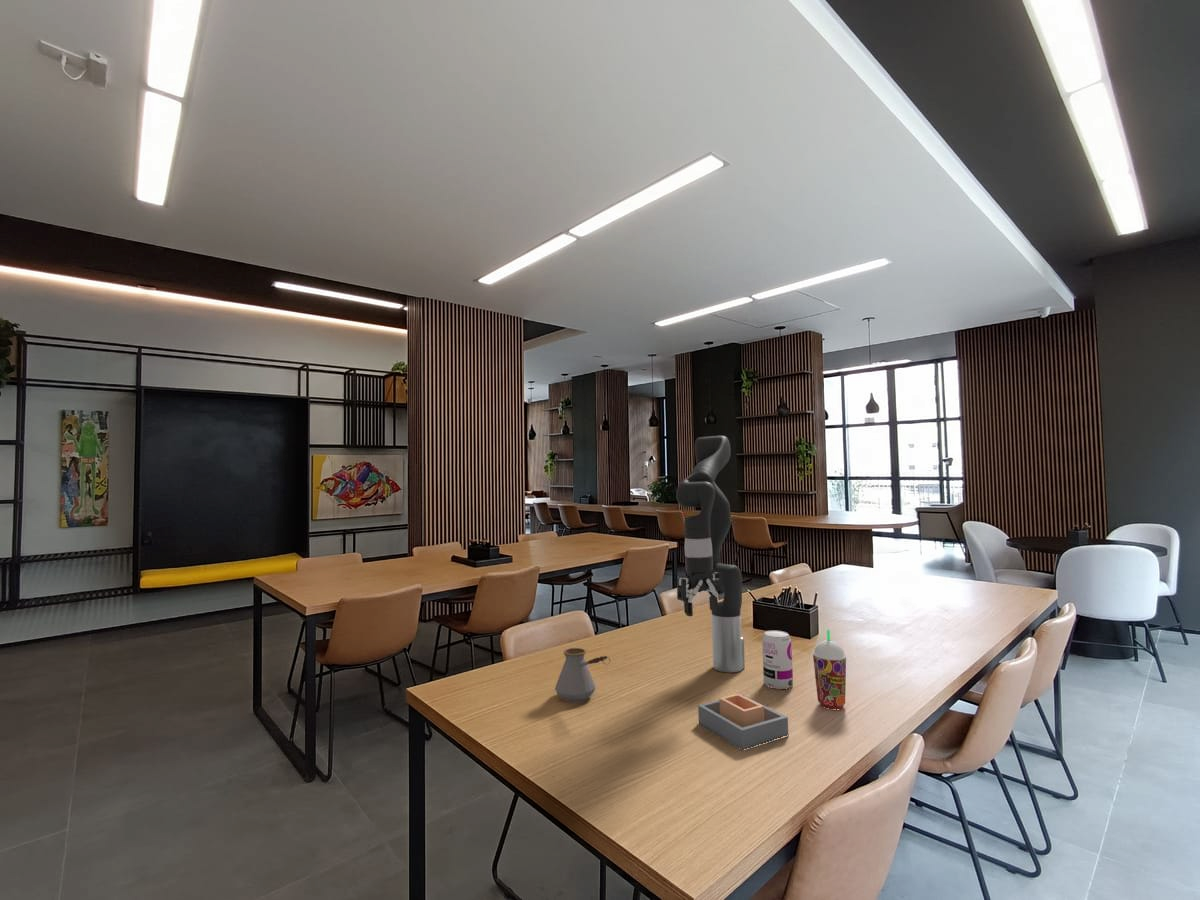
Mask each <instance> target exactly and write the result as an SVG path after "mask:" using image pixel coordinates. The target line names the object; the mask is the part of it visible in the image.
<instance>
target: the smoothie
mask: <svg viewBox="0 0 1200 900" xmlns="http://www.w3.org/2000/svg"><path fill="white" fill-rule="evenodd" d="M826 635H827V637H826V639H825V640H824V639H823V640H821V641H819V642H818V643H817V644H816V646H815V647H814V650H813V651H812V656H813V657H812V658H813V668H814V677H815V685H816V694H817V698H816V699H817V701H818V702H819V705H820V704H821V705H820V707H822V706H823V707H825V708H829V709H836V710H835V711H838V710H837V709H841V710H842V708H843V709H844V705H845V704H846V690H847V689H846V685H847V684H846V682H847V681H846V679H847V674H846V673H847V653H845V651H844V649H843V648H842V646H841V645H840V644H839V643H838V642H836V641H834V640H831V635H830V629H827V630H826ZM823 707H822V708H823ZM825 708H824V709H825Z"/></svg>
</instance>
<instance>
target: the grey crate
mask: <svg viewBox="0 0 1200 900" xmlns="http://www.w3.org/2000/svg"><path fill="white" fill-rule="evenodd" d="M741 695H742V696H744V697H746V698H748V699H750V700H752V701H754V702H756V703H758V704H760V705H762V706H764V722H761V723H757V724H754V725H750V726H747V727H743V728H742V727H740V726H738V725H737V724H735V723H733V722H731V721H730V720H728V719H726V718H724V717H723V716H721V715H720V699H717V700H714V701H710V702H706V703H702V704H698V705H697V707H698V709H697V711H698V712H697V713H698V725H700V726H702V727H703V726H704V727H703V728H704V729H706V728H707V729H706V730H708V729H709V730H708V731H710V732H711V731H712V733H713V732H714V733H715V735H716V734H717V735H716V736H717V737H719V736H720V737H719V738H721V737H722V738H723V740H724V739H725V740H724V741H726V742H727V741H728V742H727V743H729V742H730V743H731V745H732V744H733V745H732V746H734V745H735V746H736V747H735V746H734V747H735V748H737V747H738V748H737V749H739V748H740V749H742V750H744V749H747V748H751V747H754V746H756V745H759V744H763V743H766V742H769V741H772V740H774V739H777V738H781V737H783V736H787V735H788V736H789V717H788V716H787V715H784V714H782V713H780V712H778V711H776V710H775V709H774V710H773V709H772V708H770V707H768V706H765V705H764V704H761V703H759V702H758V701H756V700H754V699H752V698H750V697H747V696H745V695H744V694H741ZM714 733H713V734H714ZM722 738H721V739H722ZM730 743H729V744H730ZM754 748H755V747H754ZM740 749H739V750H740ZM751 749H752V748H751ZM742 750H741V751H742Z"/></svg>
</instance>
